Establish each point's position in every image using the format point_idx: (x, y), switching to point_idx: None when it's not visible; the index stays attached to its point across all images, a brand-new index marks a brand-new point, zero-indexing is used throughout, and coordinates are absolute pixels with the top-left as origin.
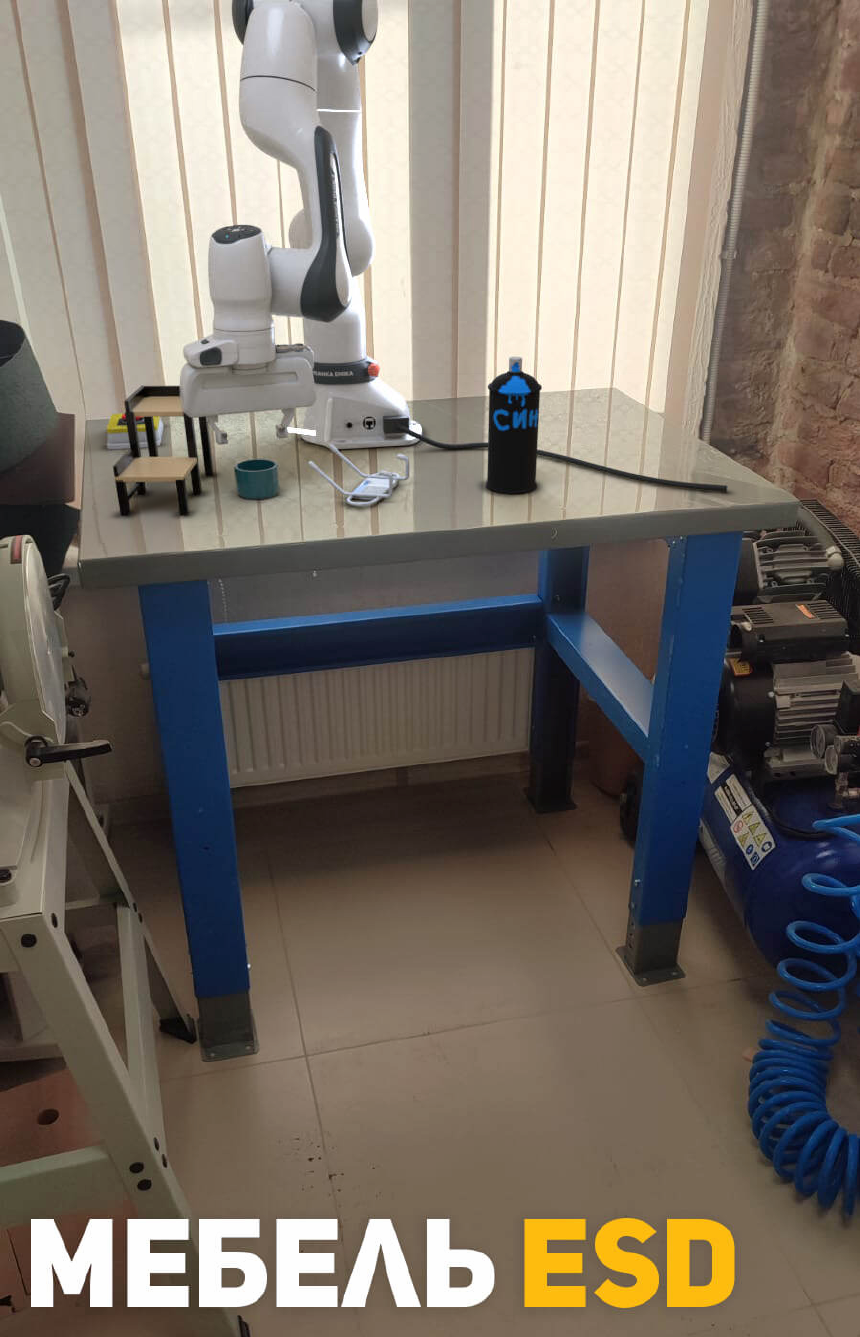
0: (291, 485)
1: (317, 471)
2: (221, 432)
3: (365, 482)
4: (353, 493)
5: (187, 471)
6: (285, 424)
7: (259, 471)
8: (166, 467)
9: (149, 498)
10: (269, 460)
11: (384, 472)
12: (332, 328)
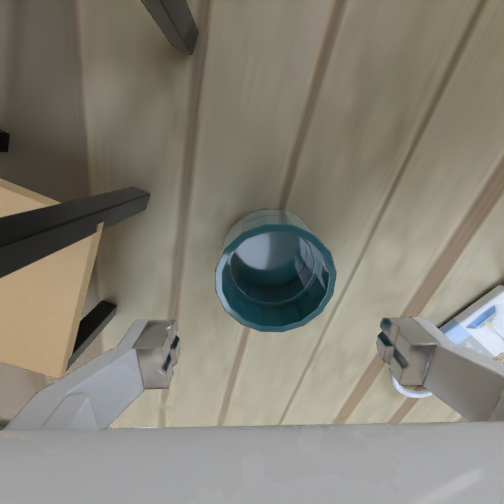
0: (355, 227)
1: None
2: (144, 379)
3: (483, 315)
4: None
5: (71, 336)
6: (438, 396)
7: (268, 331)
8: (2, 296)
9: (24, 180)
10: (325, 258)
11: None
12: None
